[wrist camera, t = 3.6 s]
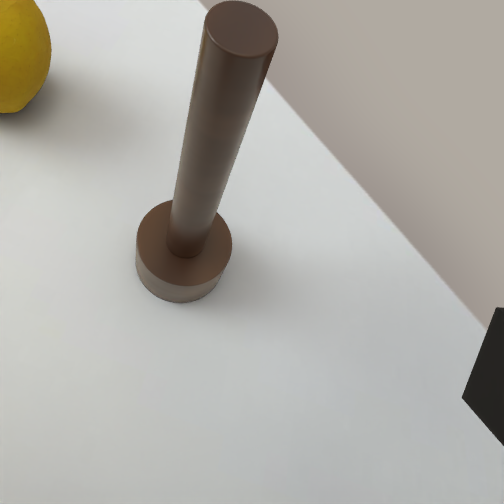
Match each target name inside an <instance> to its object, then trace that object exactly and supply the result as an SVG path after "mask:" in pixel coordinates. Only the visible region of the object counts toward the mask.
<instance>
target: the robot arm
mask: <svg viewBox="0 0 504 504" xmlns="http://www.w3.org/2000/svg"><path fill="white" fill-rule="evenodd" d="M462 399H463V400H464V401H465V402H466V403H467V404H468V406H469V407H470V408H471V409H472V410H473V411H474V412H475V414H476V415H477V416H478V417H479V418H480V419H481V421H482V422H483V423H484V424H485V425H486V426H487V427H488V429H489V430H490V431H491V432H492V433H493V434H494V435H495V437H496V438H497V439H498V440H499V441H500V442H501V443H502V445H503V446H504V308H499V307H497V308H496V309H495V312H494V314H493V317H492V320H491V322H490V325H489V328H488V330H487V333H486V335H485V338H484V341H483V343H482V346H481V348H480V351H479V354H478V356H477V359H476V361H475V364H474V367H473V369H472V372H471V375H470V377H469V380H468V382H467V385H466V388H465V390H464V393H463V395H462Z"/></svg>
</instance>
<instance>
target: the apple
mask: <svg viewBox="0 0 504 504" xmlns="http://www.w3.org/2000/svg"><path fill="white" fill-rule="evenodd" d="M50 60H51V40H50V35H49V31H48V27H47V24H46V22H45V18H44V16H43V14H42V12H41V11H40V9H39V8H38V6H37V5H36V3H35V2H34V0H0V113H14V112H18V111H20V110H21V109H22V108H24V107H25V106H26V105H27V103H28V102H29V101H30V100H31V99H32V98H33V97H34V96H35V95H36V94H37V93H38V91H39V90H40V89H41V87H42V85H43V83H44V81H45V79H46V76H47V74H48V71H49V67H50Z"/></svg>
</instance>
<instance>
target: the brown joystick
mask: <svg viewBox="0 0 504 504" xmlns="http://www.w3.org/2000/svg"><path fill="white" fill-rule="evenodd" d="M277 43H278V31H277V28H276V25H275V23H274V21H273V20H272V19H271V17H270V16H269V15H268V14H267V13H265V12H264V11H263V10H262V9H260V8H258V7H256V6H255V5H252V4H250V3H246V2H243V1H224V2H221V3H219V4H216V5H215V6H213V7H212V8H211V9H210V10H209V12H208V13H207V15H206V17H205V21H204V27H203V32H202V38H201V44H200V49H199V55H198V61H197V66H196V72H195V78H194V84H193V89H192V95H191V101H190V106H189V112H188V118H187V123H186V129H185V135H184V140H183V146H182V152H181V157H180V163H179V169H178V174H177V180H176V186H175V192H174V197H173V200H170V201H167V202H164V203H161V204H159V205H157V206H156V207H154V208H153V209H152V210H151V211H149V212H148V213H147V214H146V216H145V217H144V218H143V220H142V222H141V223H140V226H139V228H138V232H137V239H136V269H137V272H138V275H139V278H140V280H141V281H142V283H143V284H144V286H145V287H146V288H147V289H148V290H149V291H150V292H151V293H153V294H154V295H156V296H157V297H159V298H161V299H163V300H166V301H170V302H176V303H185V302H191V301H195V300H198V299H200V298H202V297H203V296H205V295H207V294H208V293H209V292H210V291H211V290H212V289H213V288H214V287H215V286H216V284H217V283H218V281H219V279H220V277H221V275H222V273H223V271H224V269H225V267H226V265H227V263H228V261H229V259H230V256H231V251H232V238H231V234H230V231H229V228H228V226H227V224H226V223H225V221H224V220H223V218H222V217H221V216H220V215H219V214H218V213H217V212H216V211H217V209H218V206H219V203H220V200H221V198H222V195H223V192H224V189H225V187H226V184H227V181H228V178H229V176H230V173H231V170H232V167H233V165H234V162H235V159H236V156H237V154H238V151H239V148H240V145H241V143H242V140H243V137H244V134H245V132H246V129H247V126H248V123H249V121H250V118H251V115H252V112H253V110H254V107H255V104H256V101H257V98H258V96H259V93H260V90H261V87H262V85H263V82H264V79H265V76H266V74H267V71H268V68H269V65H270V63H271V60H272V57H273V54H274V51H275V49H276V46H277Z"/></svg>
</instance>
